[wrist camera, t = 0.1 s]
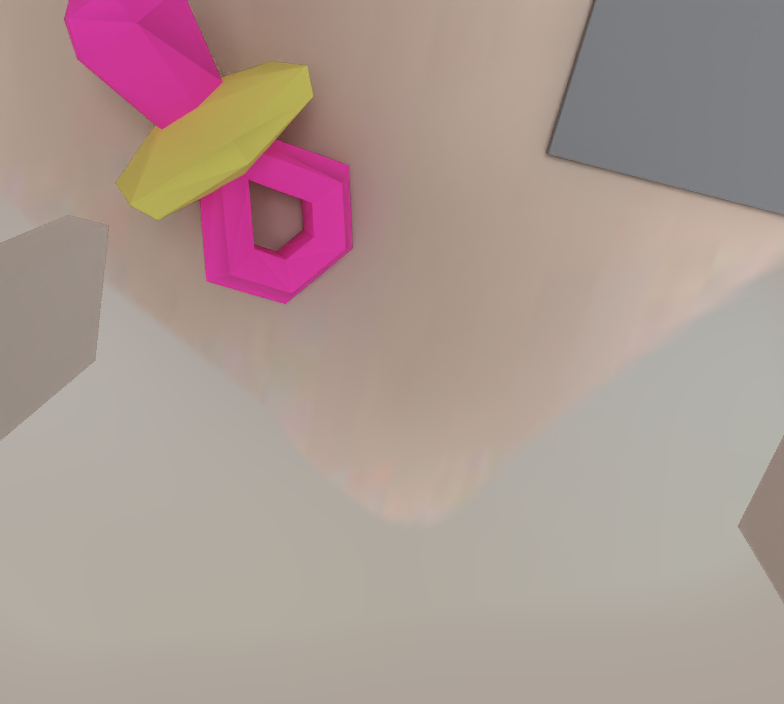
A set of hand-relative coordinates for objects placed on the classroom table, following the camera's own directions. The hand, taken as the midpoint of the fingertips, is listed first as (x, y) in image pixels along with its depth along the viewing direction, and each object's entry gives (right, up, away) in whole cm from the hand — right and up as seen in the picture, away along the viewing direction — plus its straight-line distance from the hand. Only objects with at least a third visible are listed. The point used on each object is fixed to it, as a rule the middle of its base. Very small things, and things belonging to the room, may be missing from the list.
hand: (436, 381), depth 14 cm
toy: (-9, +12, +26) cm, 30 cm away
